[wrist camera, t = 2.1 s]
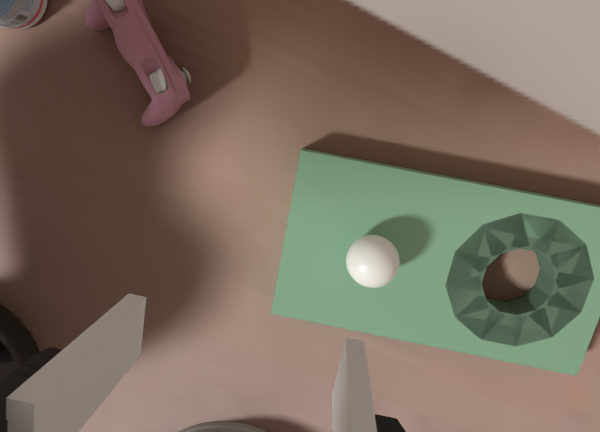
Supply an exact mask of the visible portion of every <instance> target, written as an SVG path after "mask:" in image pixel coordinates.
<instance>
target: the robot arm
mask: <svg viewBox="0 0 600 432" xmlns="http://www.w3.org/2000/svg"><path fill="white" fill-rule="evenodd" d="M145 307H146V297H144V296H139V295H134V294H127V295H126V296H125V297H124V298H123V299H122V300H120V301H119V302H118V303H117V304H116V305H115V306H113V307H112V308H111V309H110V310H109V311H108V312H106V313H105V314H104V315H103V316H102V317H100V318H99V319H98V320H97V321H96V322H95V323H93V324H92V325H91V326H90V327H89V328H88V329H86V330H85V331H84V332H83V333H82V334H81V335H79V336H78V337H77V338H76V339H75V340H74V341H72V342H71V343H70V344H69V345H68V346H66V347H65V348H64V349H63V350H60V349H55V348H48V349H46V350H44V351H42V352H39V353H38V351H37V348H36V346H35V344H34V342H33V340H32V338H31V337H30V335H29V334H28V332H27V331H26V329H25V328H24V327H23V326H22V325H21V323H20V322H19V321H18V320H17V319H16V318H15V317H14V316H13V315H11V314H10V313H9V312H8V311H6V310H5V309H4V308H2V307H1V306H0V432H78V431H79V430H80V429H81V428H82V426H83V425H84V424H85V423H86V422H87V420H88V419H89V418H90V417H91V415H92V414H93V413H94V412H95V410H96V409H97V408H98V407H99V406H100V404H101V403H102V402H103V401H104V399H105V398H106V397H107V396H108V395H109V393H110V392H111V391H112V390H113V388H114V387H115V386H116V385H117V383H118V382H119V381H120V380H121V379H122V377H123V376H124V375H125V374H126V372H127V371H128V370H129V369H130V367H131V366H132V365H133V364H134V363H135V361H136V360H137V359H138V358H139V356H140V355H141V347H142V337H143V327H144V317H145ZM332 432H406V431H405V430H404V428H403V427H402V426H401V424H400V423H399V421H398V420H397V419H395V418H391V417H386V416H381V415H376V414H375V413H374V407H373V400H372V393H371V386H370V380H369V373H368V366H367V359H366V353H365V346H364V341H360V340H355V339H350V338H345V342H344V346H343V350H342V355H341V359H340V363H339V368H338V372H337V376H336V380H335V385H334V389H333V393H332Z"/></svg>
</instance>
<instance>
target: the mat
mask: <svg viewBox="0 0 600 432" xmlns="http://www.w3.org/2000/svg"><path fill="white" fill-rule="evenodd" d="M366 235H379V236H382V237H384V238H386V239H388V240H389V241H390V242H391V243H392V244H393V245H394V246H395V247H396V249H397V251H398V254H399V259H400V265H399V270H398V272H397V274H396V276H395V277H394V279H393V280H392V281H391V282H389V283H388V284H386V285H384V286H382V287H377V288H370V287H365V286H363V285H361V284H359V283H357V282H356V281H355V280H354V279H353V278H352V277H351V275H350V274H349V272H348V269H347V265H346V257H347V252H348V250H349V248H350V246H351V245H352V244H353V243H354V242H355V241H356V240H357V239H359V238H361V237H363V236H366ZM519 248H522V249H527V250H532V251H534V252H535V253H536V254H537V258H538V262H539V266H540V272H539V275H538V278H537V281H536V284H535V286H533V287H532V288H531V289H530V290H529V291H528V292H527V293H526V294H525V295H523V296H522V297H520V298H516V299H513V300H509V301H506V302H503V301H498V300H493V299H488V298H487V297H486V296H485V294H484V290H483V287H482V281H483V278H484V275H485V271H486V268H487V266H488V265H489V264H490V263H492V262H493V261H494V260H495V259H496V258H497V257H498V256H499V255H500V254H502V253H505V252H508V251H512V250H515V249H519ZM271 314H276V315H281V316H286V317H290V318H295V319H300V320H305V321H310V322H315V323H320V324H325V325H330V326H335V327H339V328H344V329H349V330H354V331H359V332H364V333H369V334H374V335H379V336H384V337H389V338H393V339H398V340H403V341H408V342H413V343H418V344H423V345H428V346H433V347H438V348H442V349H447V350H452V351H457V352H462V353H467V354H472V355H477V356H482V357H487V358H492V359H496V360H501V361H506V362H511V363H516V364H521V365H526V366H531V367H536V368H541V369H545V370H550V371H555V372H560V373H565V374H570V375H575V376H577V374H578V371H579V369H580V366H581V364H582V361H583V358H584V356H585V353H586V351H587V348H588V346H589V343H590V341H591V338H592V336H593V333H594V330H595V328H596V325H597V323H598V320H599V318H600V205H597V204H592V203H587V202H582V201H577V200H571V199H566V198H561V197H556V196H550V195H545V194H540V193H535V192H529V191H524V190H519V189H514V188H509V187H503V186H498V185H493V184H488V183H482V182H477V181H472V180H467V179H461V178H456V177H451V176H446V175H441V174H435V173H430V172H425V171H420V170H414V169H409V168H404V167H399V166H393V165H388V164H383V163H378V162H372V161H367V160H362V159H357V158H352V157H346V156H341V155H336V154H331V153H325V152H320V151H315V150H310V149H304V148H303V149H301V151H300V157H299V162H298V168H297V173H296V179H295V184H294V190H293V195H292V201H291V206H290V212H289V217H288V223H287V228H286V234H285V239H284V245H283V250H282V256H281V261H280V267H279V272H278V278H277V283H276V289H275V294H274V300H273V305H272V311H271Z"/></svg>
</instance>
